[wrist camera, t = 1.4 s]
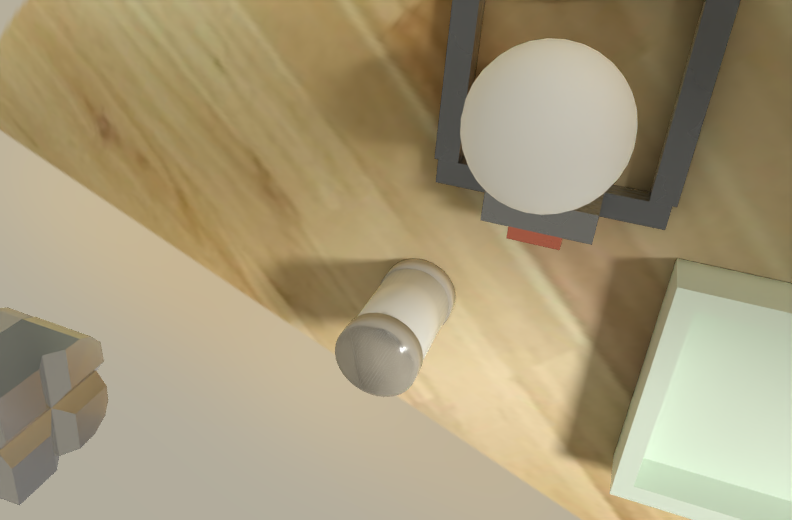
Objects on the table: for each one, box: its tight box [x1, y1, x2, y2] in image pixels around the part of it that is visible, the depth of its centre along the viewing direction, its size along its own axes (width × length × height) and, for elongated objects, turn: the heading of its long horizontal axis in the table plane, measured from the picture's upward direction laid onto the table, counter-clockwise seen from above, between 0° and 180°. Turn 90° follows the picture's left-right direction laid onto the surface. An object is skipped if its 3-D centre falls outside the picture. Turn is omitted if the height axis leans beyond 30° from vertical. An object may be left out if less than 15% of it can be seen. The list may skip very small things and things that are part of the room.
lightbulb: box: [460, 38, 638, 215], centre depth 26 cm, size 6×6×11 cm
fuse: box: [335, 259, 455, 397], centre depth 36 cm, size 4×4×7 cm
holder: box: [435, 0, 741, 250], centre depth 29 cm, size 11×12×4 cm
